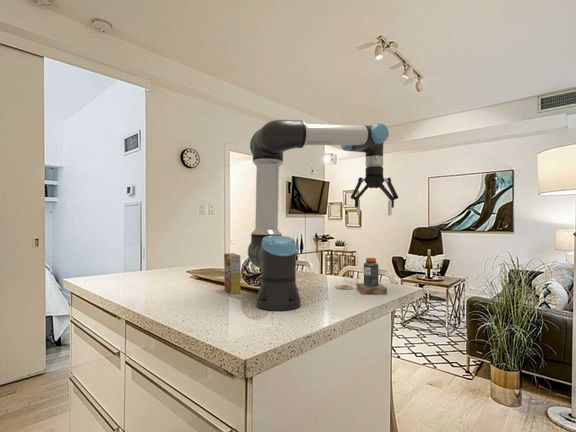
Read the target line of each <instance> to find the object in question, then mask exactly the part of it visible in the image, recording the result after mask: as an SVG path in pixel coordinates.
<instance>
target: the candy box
mask: <svg viewBox="0 0 576 432" xmlns="http://www.w3.org/2000/svg"><path fill="white" fill-rule="evenodd" d="M223 257H224V258H223V259H224V260H223V261H224V266H223V267H224V290H225V291H226V292H228V293H229V294H230V295H235V294H237V295H238V294H241V255H240V254H236V253H233V252H232V253H230V252H228V253H224V255H223Z"/></svg>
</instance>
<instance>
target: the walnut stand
mask: <svg viewBox="0 0 576 432" xmlns="http://www.w3.org/2000/svg"><path fill="white" fill-rule="evenodd" d="M356 290H357V291H358V292H359V293H360V295H377V296H378V295H381V296H384V295H385V296H387V295H388V288H387V287H386V286H385V285H383V284H381V283H379V285H378V286H373V287H372V286H365V285H364V282H362V283H356Z"/></svg>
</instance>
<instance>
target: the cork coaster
mask: <svg viewBox="0 0 576 432" xmlns="http://www.w3.org/2000/svg"><path fill="white" fill-rule="evenodd" d="M334 288H335V289H336V290H337V289H338V290H347V291H348V290H354V286H353V285H349V284H336V285H335V286H334Z"/></svg>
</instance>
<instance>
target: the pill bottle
mask: <svg viewBox="0 0 576 432" xmlns="http://www.w3.org/2000/svg"><path fill="white" fill-rule="evenodd" d="M363 283H364V285H365V286H372V287H373V286H378V285H379V284H380V282H379V263H377V258H376V257H366V258H365V263H364V264H363Z"/></svg>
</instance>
